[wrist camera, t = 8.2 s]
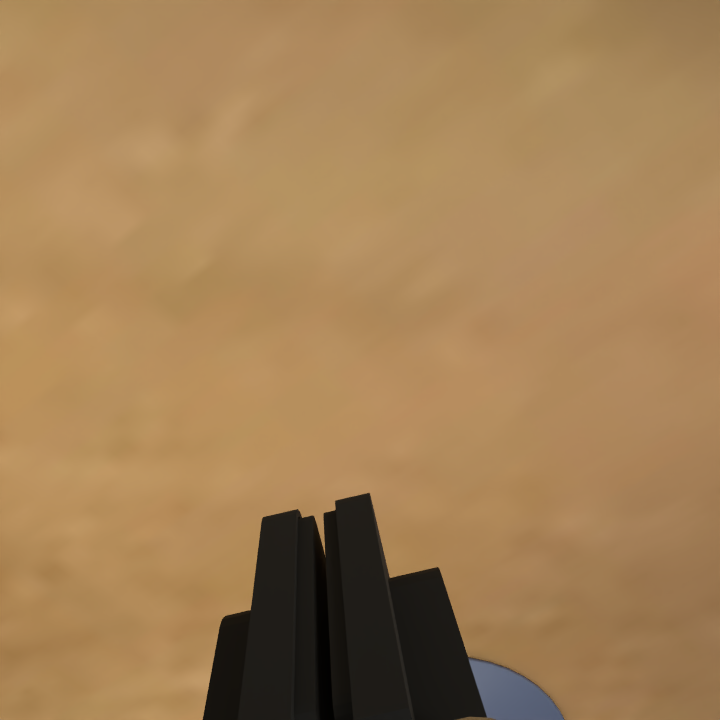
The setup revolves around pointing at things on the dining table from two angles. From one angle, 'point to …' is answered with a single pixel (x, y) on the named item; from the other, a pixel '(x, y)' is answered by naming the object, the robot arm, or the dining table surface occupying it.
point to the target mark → (511, 694)
